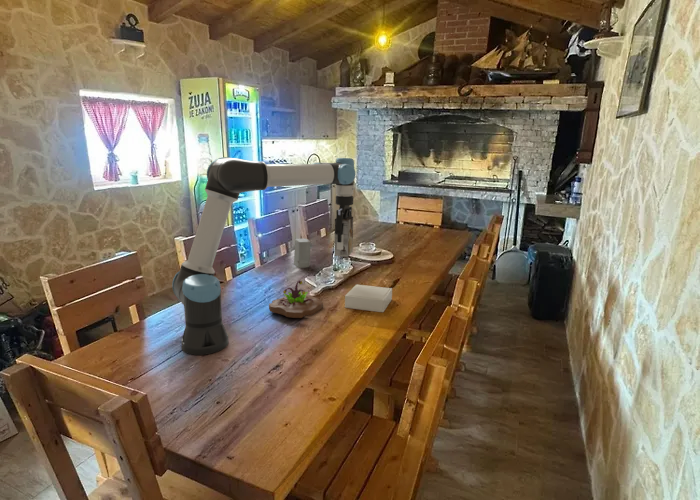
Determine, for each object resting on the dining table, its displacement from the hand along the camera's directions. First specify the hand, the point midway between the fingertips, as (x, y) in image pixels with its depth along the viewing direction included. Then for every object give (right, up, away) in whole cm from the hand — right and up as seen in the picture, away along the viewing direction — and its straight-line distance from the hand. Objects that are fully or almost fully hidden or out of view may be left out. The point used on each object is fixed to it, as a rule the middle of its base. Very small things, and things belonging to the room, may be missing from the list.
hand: (343, 247), depth 183 cm
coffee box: (0, -3, +1) cm, 3 cm away
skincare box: (-23, -11, +45) cm, 51 cm away
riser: (+11, -24, -7) cm, 27 cm away
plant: (-19, -25, -12) cm, 33 cm away
